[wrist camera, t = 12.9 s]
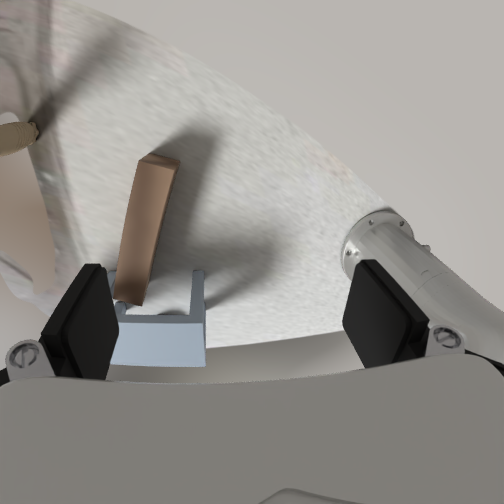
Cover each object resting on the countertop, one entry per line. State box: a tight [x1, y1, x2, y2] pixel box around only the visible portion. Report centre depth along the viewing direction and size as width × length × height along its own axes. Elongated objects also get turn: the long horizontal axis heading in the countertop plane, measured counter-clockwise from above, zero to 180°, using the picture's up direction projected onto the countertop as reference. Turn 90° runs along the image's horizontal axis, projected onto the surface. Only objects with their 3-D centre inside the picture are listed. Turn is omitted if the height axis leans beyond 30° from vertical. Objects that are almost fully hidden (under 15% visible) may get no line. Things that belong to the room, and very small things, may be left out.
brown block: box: [113, 153, 180, 306], centre depth 36 cm, size 4×18×6 cm, turn 160°
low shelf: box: [107, 271, 206, 367], centre depth 38 cm, size 14×7×12 cm, turn 87°
